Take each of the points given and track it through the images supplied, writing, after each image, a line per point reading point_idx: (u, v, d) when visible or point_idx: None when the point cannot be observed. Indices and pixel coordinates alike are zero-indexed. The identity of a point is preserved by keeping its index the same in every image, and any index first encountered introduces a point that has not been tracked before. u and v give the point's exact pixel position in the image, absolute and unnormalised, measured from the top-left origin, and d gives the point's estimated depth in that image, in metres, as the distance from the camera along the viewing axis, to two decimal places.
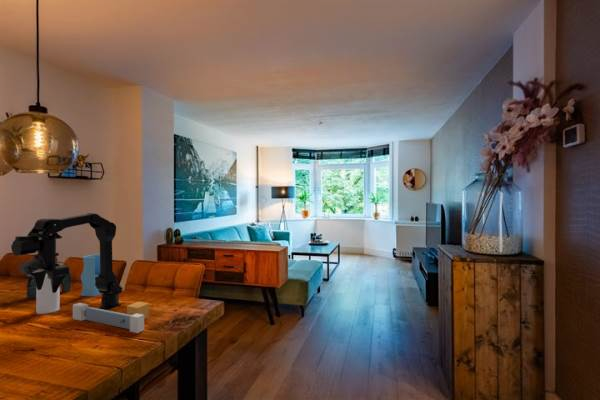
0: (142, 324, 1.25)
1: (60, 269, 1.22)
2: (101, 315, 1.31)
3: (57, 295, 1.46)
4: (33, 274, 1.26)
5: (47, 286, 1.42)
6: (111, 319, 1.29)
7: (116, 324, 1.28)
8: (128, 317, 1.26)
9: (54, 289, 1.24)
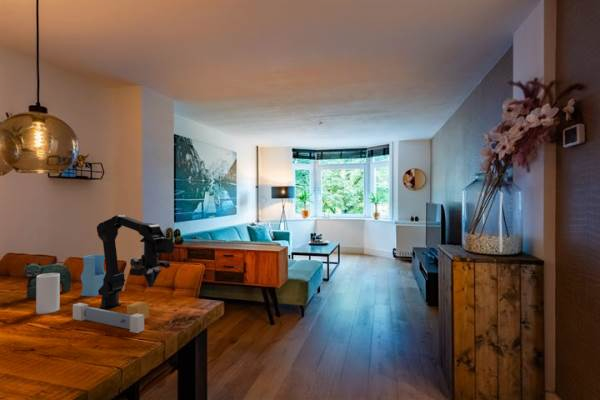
0: (142, 324, 1.25)
1: (133, 270, 1.37)
2: (101, 315, 1.31)
3: (57, 295, 1.46)
4: None
5: (47, 286, 1.42)
6: (111, 319, 1.29)
7: (116, 324, 1.28)
8: (128, 317, 1.26)
9: (148, 284, 1.45)
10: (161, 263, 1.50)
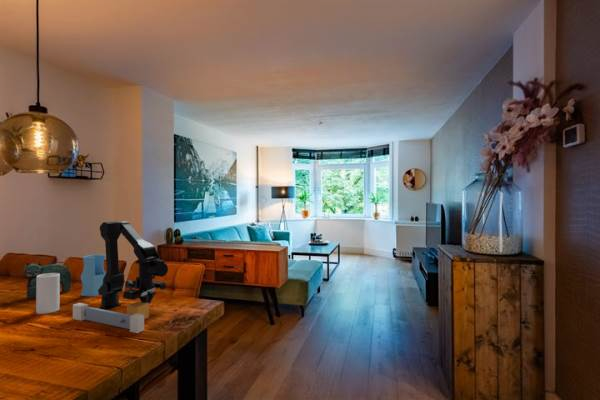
0: (142, 324, 1.25)
1: (126, 293, 1.34)
2: (101, 315, 1.31)
3: (57, 295, 1.46)
4: None
5: (47, 286, 1.42)
6: (111, 319, 1.29)
7: (116, 324, 1.28)
8: (128, 317, 1.26)
9: None
10: (157, 284, 1.47)
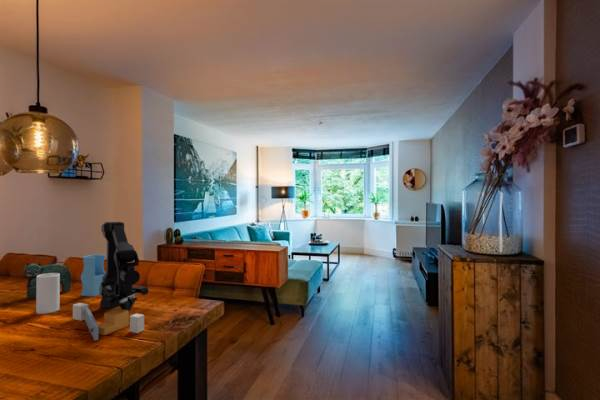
0: (142, 324, 1.25)
1: (104, 301, 1.25)
2: (87, 318, 1.27)
3: (57, 295, 1.46)
4: None
5: (47, 286, 1.42)
6: (90, 325, 1.23)
7: (91, 331, 1.21)
8: (94, 327, 1.16)
9: None
10: (138, 289, 1.38)
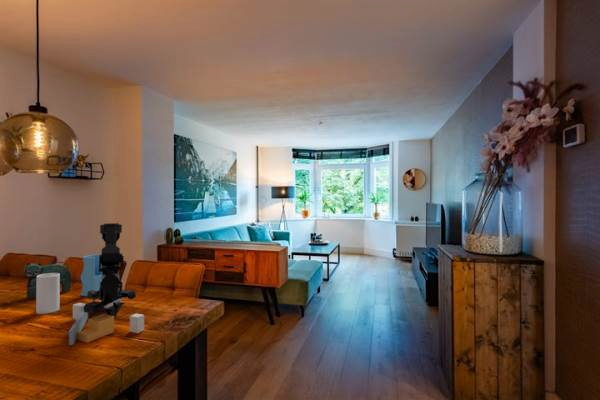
0: (142, 324, 1.25)
1: (87, 306, 1.19)
2: None
3: (57, 295, 1.46)
4: None
5: (47, 286, 1.42)
6: None
7: None
8: None
9: None
10: (125, 294, 1.32)
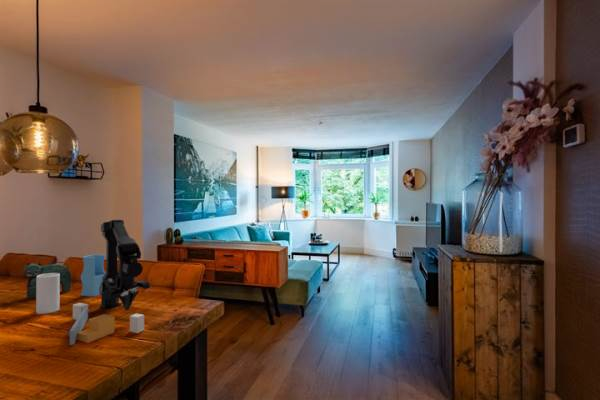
0: (142, 324, 1.25)
1: (105, 293, 1.25)
2: None
3: (57, 295, 1.46)
4: None
5: (47, 286, 1.42)
6: None
7: None
8: None
9: (124, 307, 1.33)
10: (139, 283, 1.38)
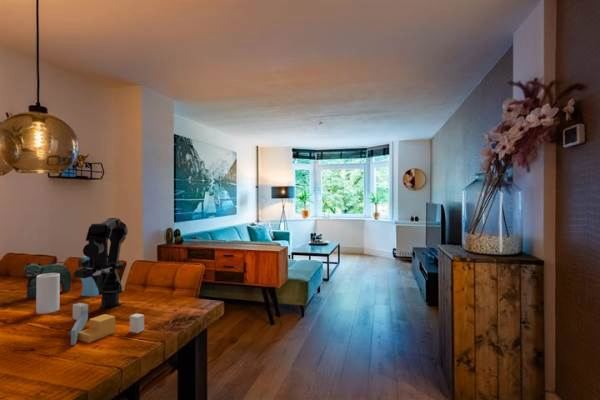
0: (142, 324, 1.25)
1: (77, 272, 1.29)
2: None
3: (57, 295, 1.46)
4: None
5: (47, 286, 1.42)
6: None
7: None
8: None
9: (97, 286, 1.37)
10: (113, 264, 1.43)
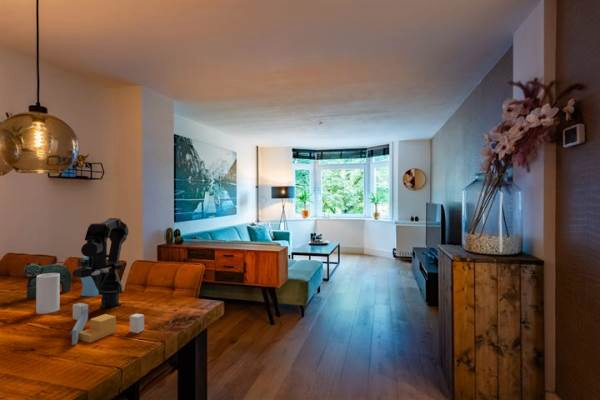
0: (142, 324, 1.25)
1: (76, 271, 1.30)
2: None
3: (57, 295, 1.46)
4: None
5: (47, 286, 1.42)
6: None
7: None
8: None
9: (96, 286, 1.37)
10: (112, 264, 1.43)
